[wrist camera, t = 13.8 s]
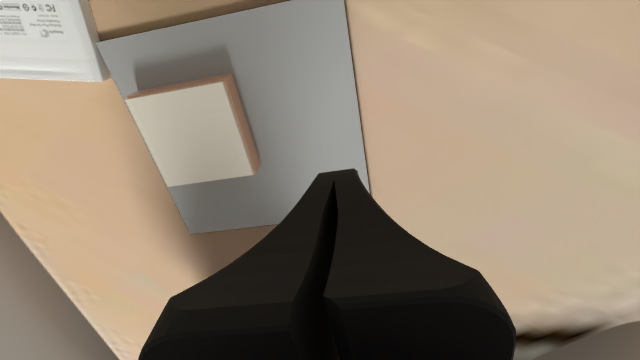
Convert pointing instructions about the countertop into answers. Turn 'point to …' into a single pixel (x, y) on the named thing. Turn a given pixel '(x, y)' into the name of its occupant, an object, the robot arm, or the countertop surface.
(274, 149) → the mat
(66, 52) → the external hard drive
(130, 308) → the countertop surface
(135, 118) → the tile
